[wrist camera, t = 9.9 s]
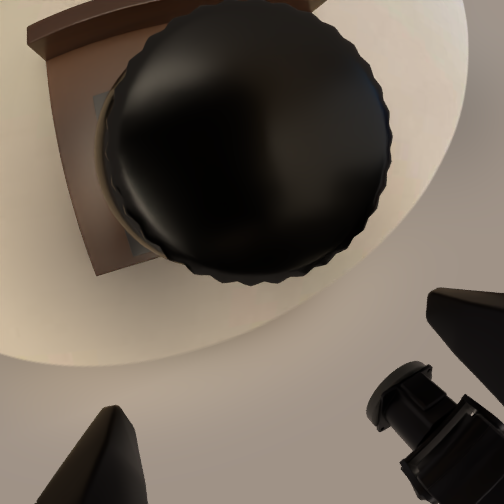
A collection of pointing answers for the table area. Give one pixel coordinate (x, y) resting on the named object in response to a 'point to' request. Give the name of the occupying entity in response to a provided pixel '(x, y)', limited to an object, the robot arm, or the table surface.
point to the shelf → (100, 100)
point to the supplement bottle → (244, 142)
